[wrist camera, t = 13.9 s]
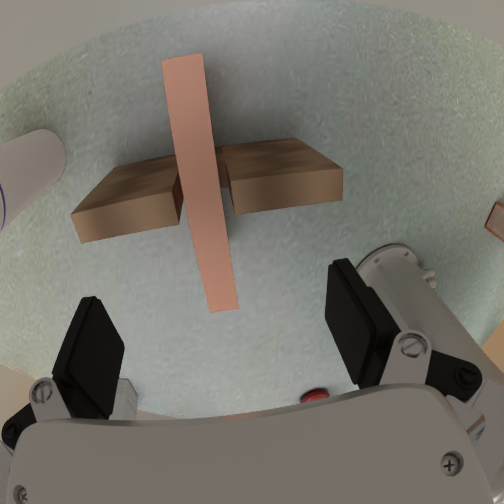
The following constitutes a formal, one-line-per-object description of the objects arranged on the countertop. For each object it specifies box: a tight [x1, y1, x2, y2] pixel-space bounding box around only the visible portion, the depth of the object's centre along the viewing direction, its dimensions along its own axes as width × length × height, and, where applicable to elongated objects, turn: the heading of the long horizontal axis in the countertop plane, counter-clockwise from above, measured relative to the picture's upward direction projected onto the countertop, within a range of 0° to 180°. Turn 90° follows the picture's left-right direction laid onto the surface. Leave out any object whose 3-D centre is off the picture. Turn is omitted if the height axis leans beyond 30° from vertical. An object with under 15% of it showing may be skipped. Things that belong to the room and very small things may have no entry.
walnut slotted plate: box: [70, 138, 343, 244], centre depth 24 cm, size 20×2×12 cm, turn 96°
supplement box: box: [109, 379, 138, 420], centre depth 44 cm, size 7×7×13 cm
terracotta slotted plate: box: [161, 53, 239, 313], centre depth 24 cm, size 20×2×12 cm, turn 5°
